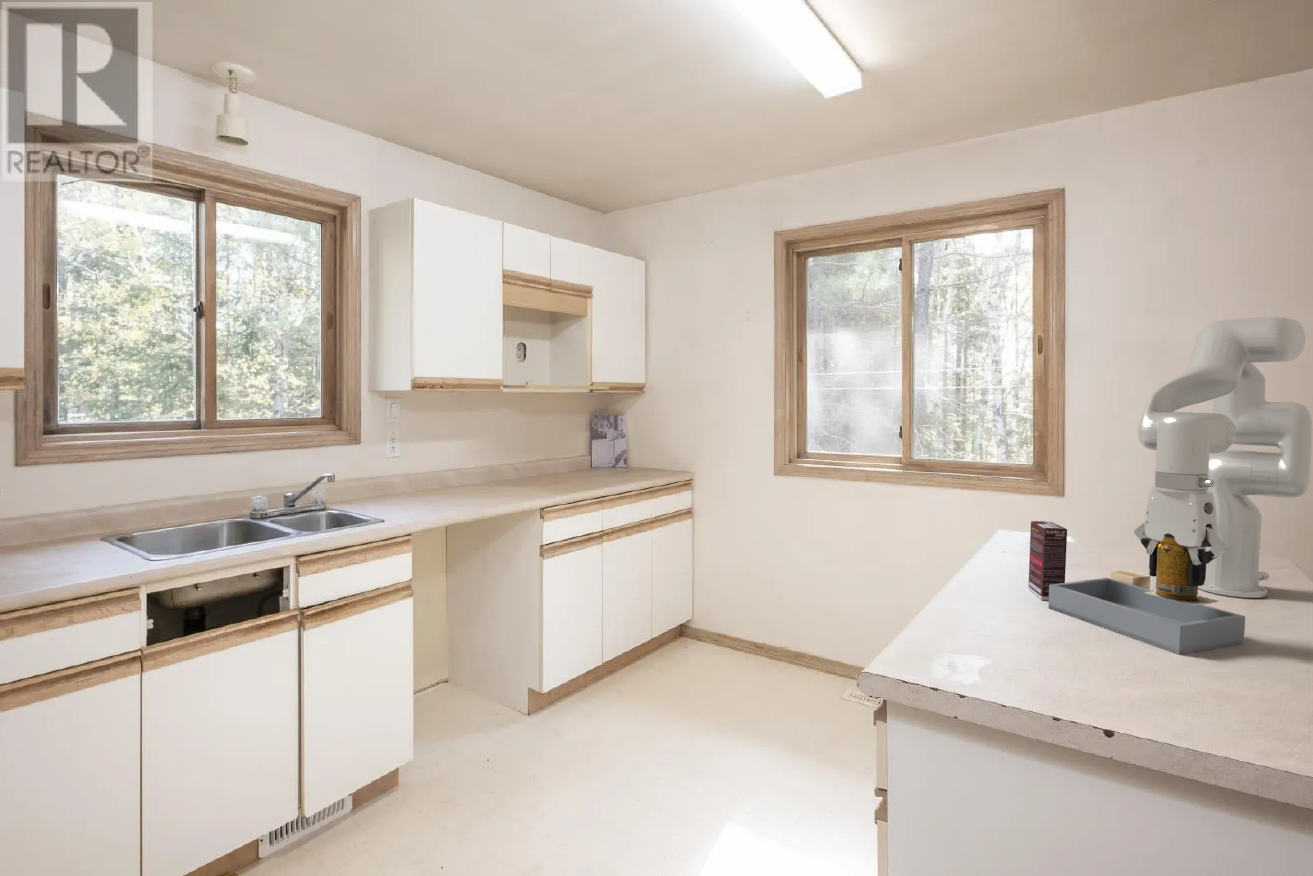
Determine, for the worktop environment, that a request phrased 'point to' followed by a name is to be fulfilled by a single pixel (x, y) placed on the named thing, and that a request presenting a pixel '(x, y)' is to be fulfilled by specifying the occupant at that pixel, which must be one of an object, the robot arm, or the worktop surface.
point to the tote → (1147, 615)
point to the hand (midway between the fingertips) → (1176, 579)
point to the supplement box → (1046, 557)
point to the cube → (1132, 578)
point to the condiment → (1175, 574)
